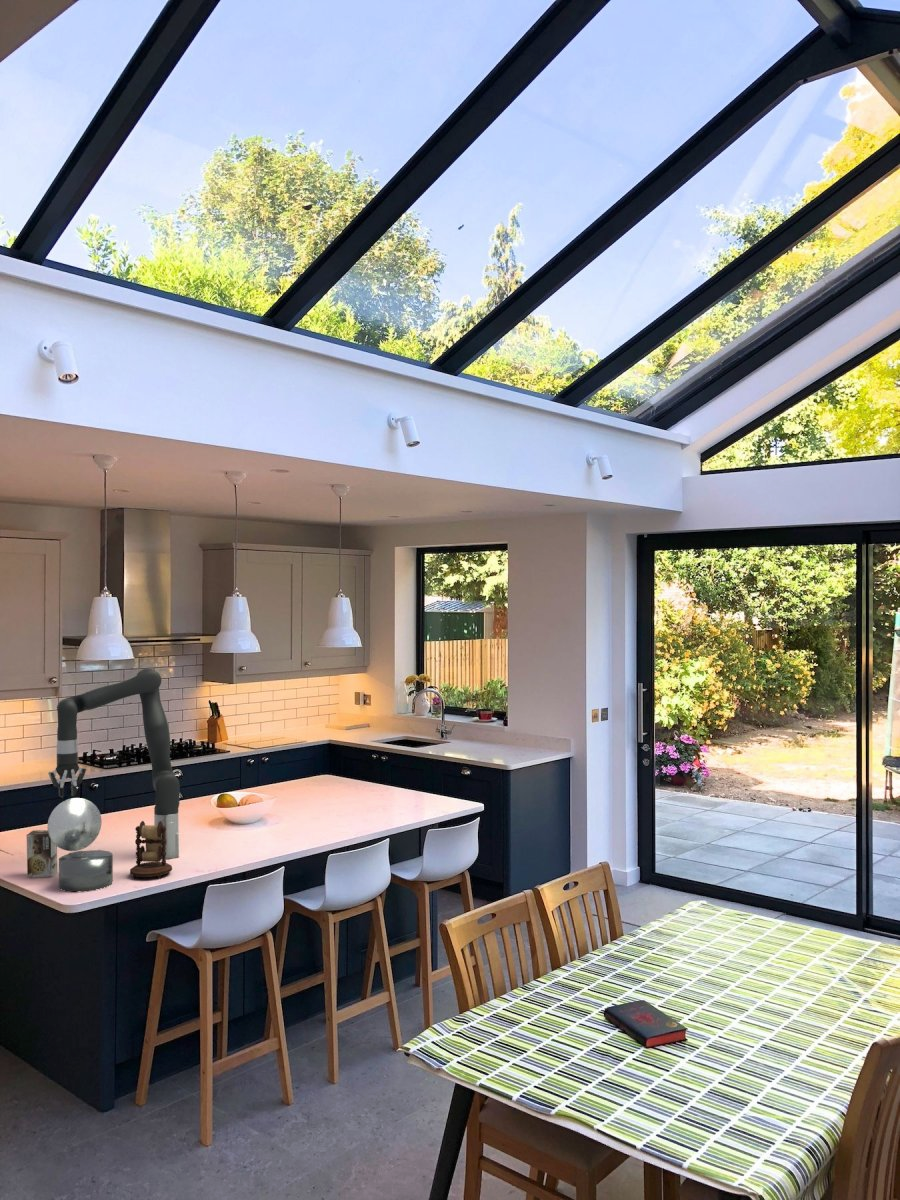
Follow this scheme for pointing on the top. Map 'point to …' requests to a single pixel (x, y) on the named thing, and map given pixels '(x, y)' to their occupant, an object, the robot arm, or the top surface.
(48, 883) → the top surface
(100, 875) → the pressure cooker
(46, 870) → the coffee box
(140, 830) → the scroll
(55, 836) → the lid
